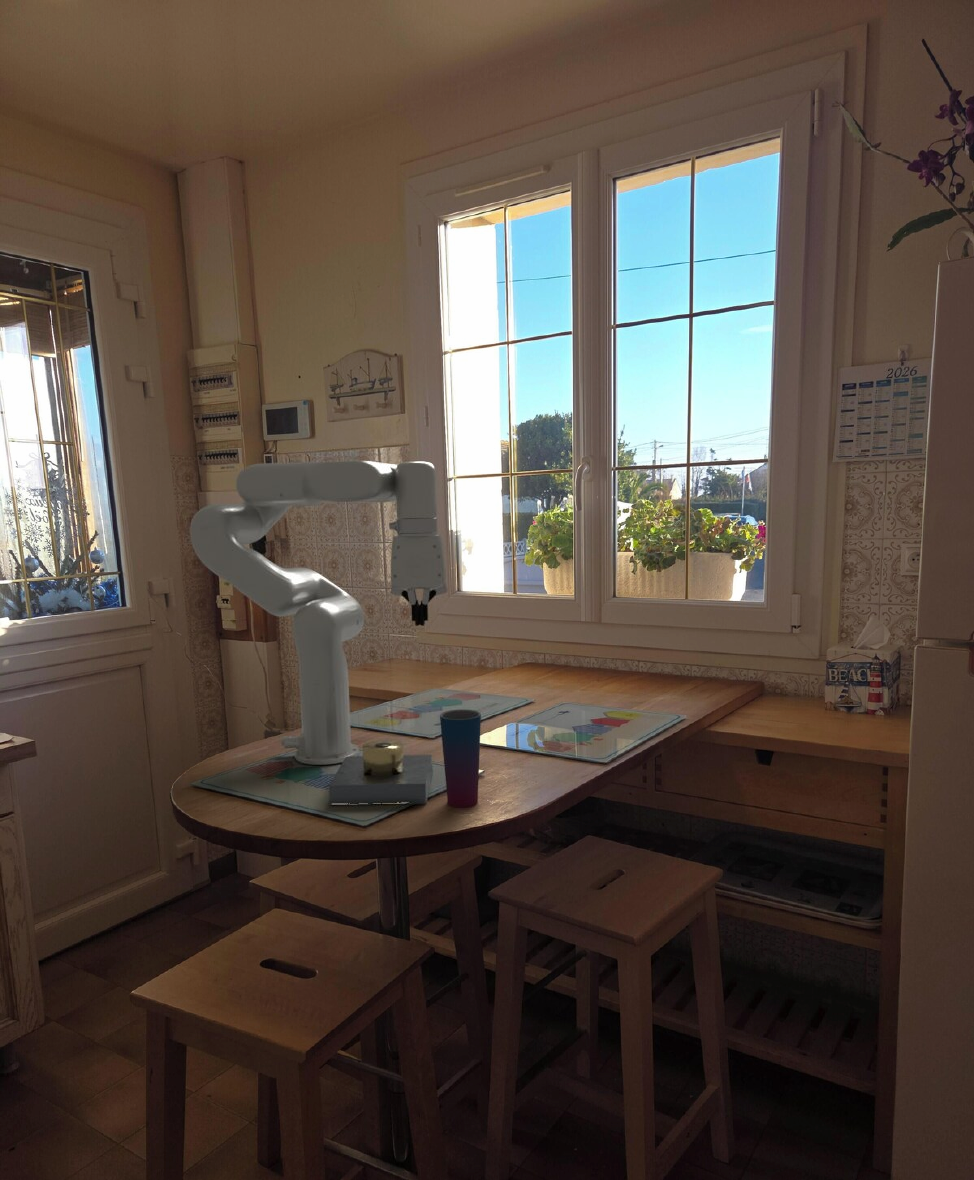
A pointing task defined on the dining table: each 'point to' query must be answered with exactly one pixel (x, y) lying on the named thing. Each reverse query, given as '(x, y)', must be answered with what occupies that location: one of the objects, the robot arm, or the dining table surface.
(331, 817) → the dining table surface
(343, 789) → the block
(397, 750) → the bushing
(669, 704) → the dining table surface
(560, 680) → the dining table surface
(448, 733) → the cup
